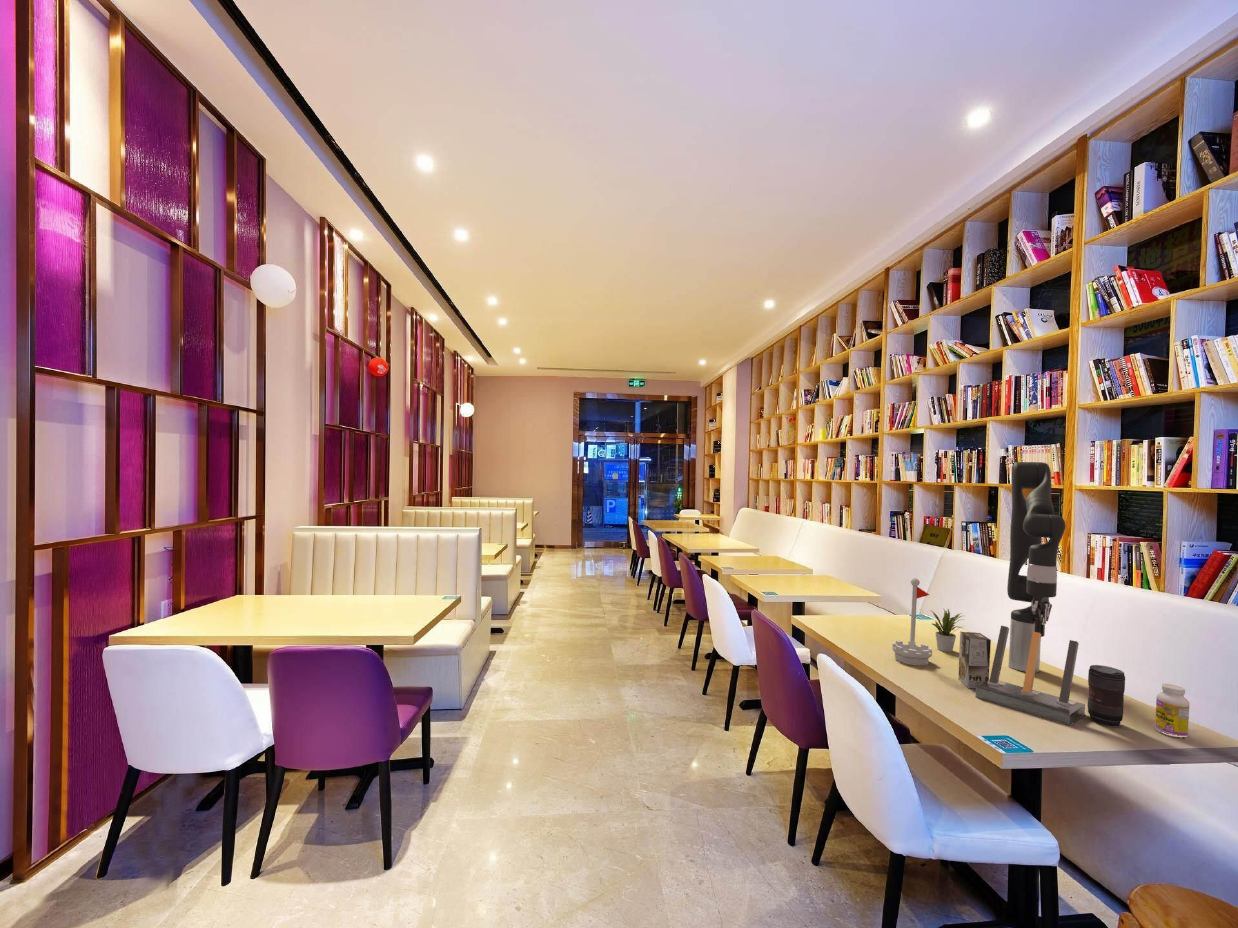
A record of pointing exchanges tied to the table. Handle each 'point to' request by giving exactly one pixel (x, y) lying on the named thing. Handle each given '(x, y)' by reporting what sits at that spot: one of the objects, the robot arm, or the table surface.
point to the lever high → (1068, 674)
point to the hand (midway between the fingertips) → (1039, 636)
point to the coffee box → (974, 659)
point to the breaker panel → (1031, 702)
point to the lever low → (998, 657)
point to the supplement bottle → (1172, 711)
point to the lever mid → (1031, 664)
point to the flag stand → (913, 636)
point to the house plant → (946, 631)
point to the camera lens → (1106, 695)
